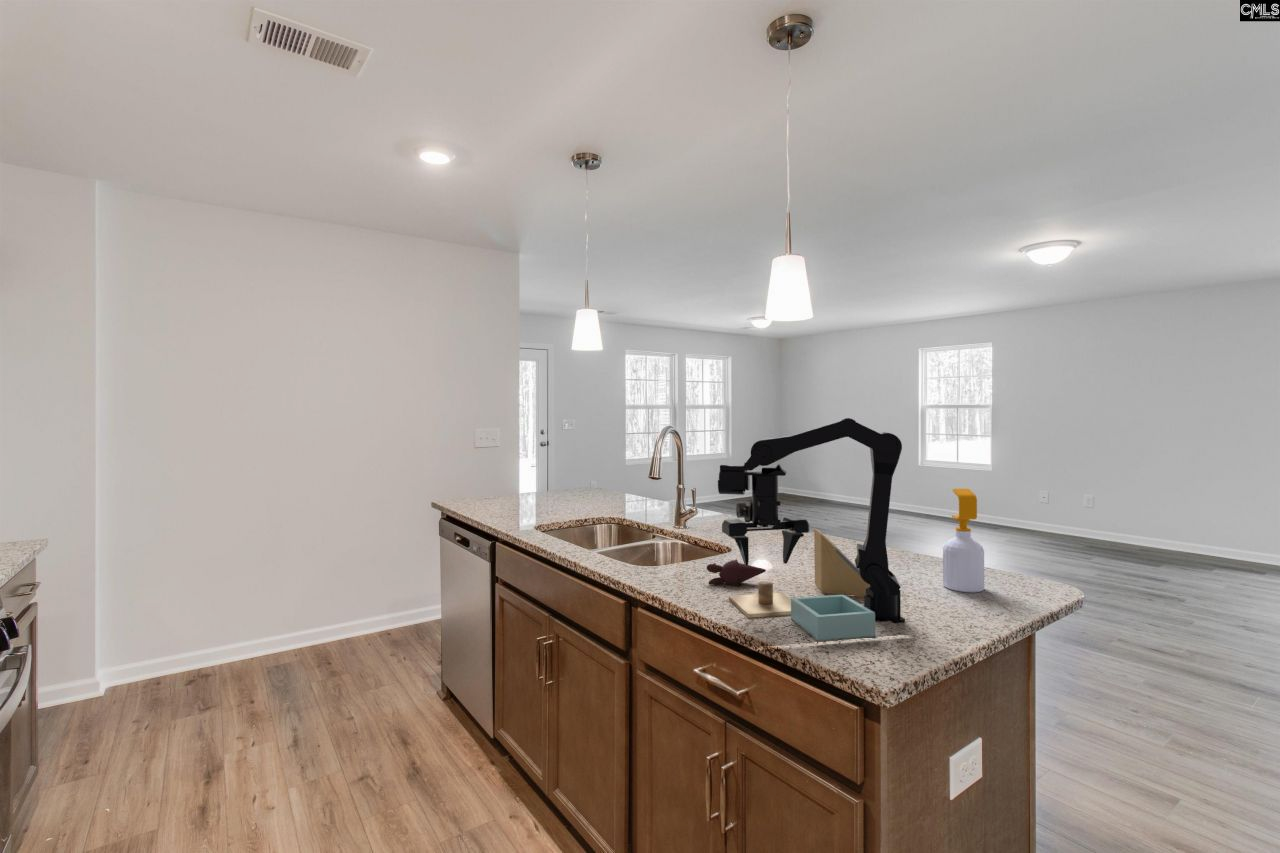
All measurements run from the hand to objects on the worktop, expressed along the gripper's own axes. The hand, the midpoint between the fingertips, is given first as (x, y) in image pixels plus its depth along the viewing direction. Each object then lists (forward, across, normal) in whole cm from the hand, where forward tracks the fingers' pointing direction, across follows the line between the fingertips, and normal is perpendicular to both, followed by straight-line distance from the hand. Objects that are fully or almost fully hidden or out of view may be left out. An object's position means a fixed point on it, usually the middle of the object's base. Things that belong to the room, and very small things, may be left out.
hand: (765, 564), depth 134 cm
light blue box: (+10, -8, +15) cm, 20 cm away
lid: (+9, 0, 0) cm, 9 cm away
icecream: (+10, 0, -19) cm, 22 cm away
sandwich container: (+10, -25, -9) cm, 29 cm away
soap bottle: (+10, -54, -5) cm, 55 cm away
